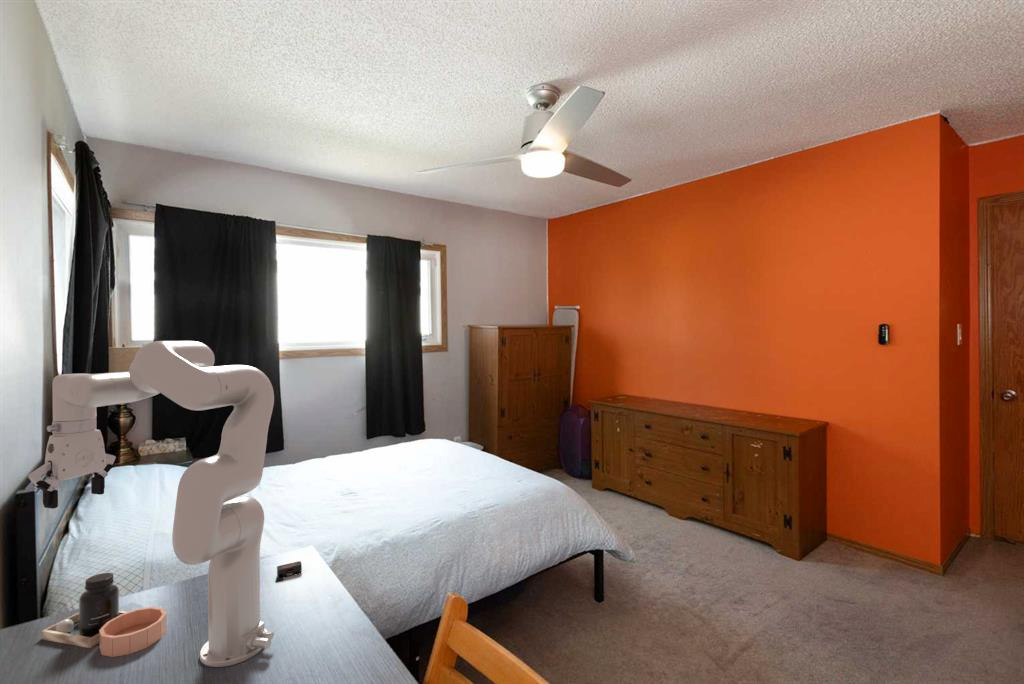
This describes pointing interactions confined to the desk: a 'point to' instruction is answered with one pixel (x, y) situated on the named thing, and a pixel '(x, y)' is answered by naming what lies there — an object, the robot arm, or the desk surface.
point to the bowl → (132, 631)
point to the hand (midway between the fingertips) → (75, 500)
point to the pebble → (64, 626)
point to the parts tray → (70, 635)
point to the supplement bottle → (98, 604)
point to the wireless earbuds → (288, 570)
